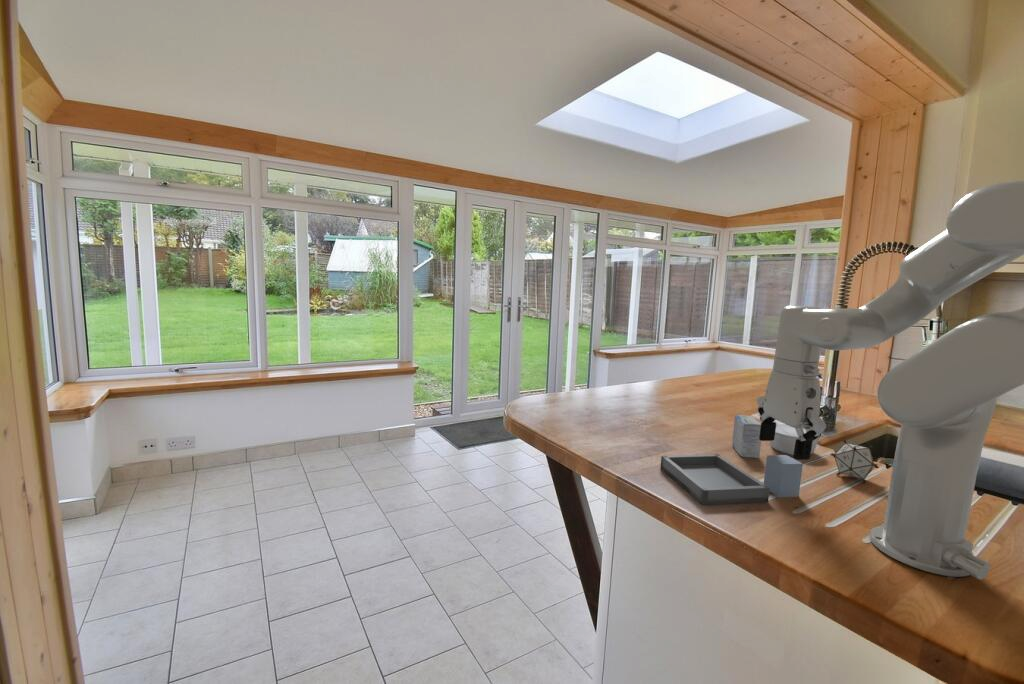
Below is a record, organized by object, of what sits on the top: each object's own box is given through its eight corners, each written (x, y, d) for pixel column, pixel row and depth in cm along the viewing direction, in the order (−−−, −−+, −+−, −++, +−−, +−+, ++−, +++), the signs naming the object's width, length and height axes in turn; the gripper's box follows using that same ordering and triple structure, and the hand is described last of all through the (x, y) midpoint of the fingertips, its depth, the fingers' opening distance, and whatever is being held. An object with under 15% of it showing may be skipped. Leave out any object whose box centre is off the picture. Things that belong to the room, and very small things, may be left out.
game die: (852, 497, 101) (853, 470, 95) (821, 469, 108) (820, 443, 102) (889, 478, 101) (891, 451, 95) (855, 452, 108) (856, 425, 102)
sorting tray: (768, 502, 89) (769, 487, 88) (702, 505, 87) (703, 490, 86) (716, 466, 106) (718, 454, 105) (660, 468, 103) (661, 455, 103)
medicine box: (759, 459, 111) (763, 425, 110) (740, 457, 112) (743, 423, 111) (749, 447, 119) (753, 415, 118) (731, 446, 120) (734, 414, 118)
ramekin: (756, 444, 122) (759, 425, 121) (786, 440, 126) (789, 422, 125) (795, 460, 111) (798, 439, 111) (827, 455, 115) (829, 435, 115)
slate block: (798, 496, 92) (802, 463, 91) (778, 497, 91) (782, 464, 90) (782, 486, 96) (786, 454, 95) (763, 487, 96) (766, 455, 95)
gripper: (849, 378, 82) (834, 467, 85) (780, 359, 99) (769, 433, 102) (812, 378, 81) (799, 467, 84) (749, 358, 98) (739, 434, 101)
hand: (783, 449), depth 93 cm, fingers open, 9 cm apart
